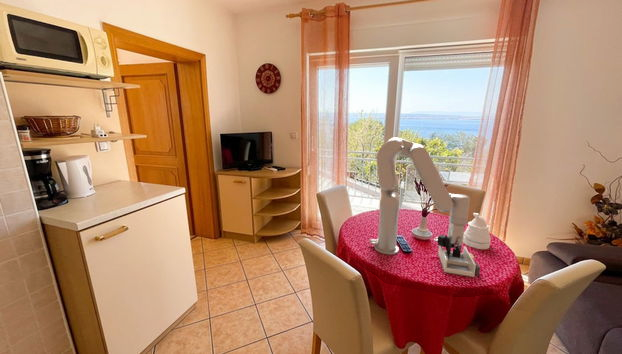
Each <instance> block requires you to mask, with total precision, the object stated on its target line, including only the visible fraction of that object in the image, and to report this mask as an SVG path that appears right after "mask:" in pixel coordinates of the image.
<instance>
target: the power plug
mask: <svg viewBox="0 0 622 354" xmlns="http://www.w3.org/2000/svg"><path fill="white" fill-rule="evenodd" d="M433 241H435V242H437V245H438V247H439V246H442V248H443V247H444V248H445V251H446V252H447V254H448V259H450V256H449V255H450V253H451V252H452V251H451V250H452V248H451V243H450V241H449V238H448V235H444V234H440V235H438V236H436V237H435V238H433Z"/></svg>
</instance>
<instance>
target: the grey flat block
mask: <svg viewBox="0 0 622 354" xmlns="http://www.w3.org/2000/svg"><path fill="white" fill-rule="evenodd" d="M474 262H475V264H476V268H475V274H474V276H478V277H479V276H480V272H481V267H480V264H478V262H476V261H474Z"/></svg>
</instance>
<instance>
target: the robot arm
mask: <svg viewBox="0 0 622 354" xmlns="http://www.w3.org/2000/svg"><path fill="white" fill-rule="evenodd" d="M397 156H401V157H404V158H407V159H409V160H410V162H411V164H412V165H413V168H414V169H415V171H416V173H417V175H418V177H419V179H420V181H421V183H422V184H423V186H424V188H425V189H426V190H427V193H428V194H429V196H430V198H431V200H432V202H433V204H434V205H435V207H436V209H437V210H438V211H440V212H441V213H449V218H448V222H449V225H448V229H447V230H448V231H447V237H448V238H449V241H450V243H451V249H452V252H453V254H452V256H453V257H458V258H460V254H461V252H462V245H463V244H464V243H463V237H464V232H465V226H467V225H468V219H469V210H470V203H471V197H470V196H468V195H467V194H461V193H456V194H455V193H450V192H449V191H448V189H447V187H446V185H445V184H444V182H443V180H442V178H441V174H440V173H439V170H438V169H437V166H436V165H435V163H434V162H433V160H432V159H433V158H432V157H431V155H430V154H429V152H428V150H427V148H425V146H423V145H422V144H419V143H416V142H412V141H409V140H407V139H403V138H400V137H396V136H395V137H391V138H389V140H386V142H384V143H383V144H382V145H381V146H380V148H379V149H378V152H377V154H376V165H377V166H376V167H377V175H378V179H377V180H378V185H379V188H380V192H381V196H380V197H381V198H380V200H379V215H378V216H379V217H378V219H379V220H378V234H377V235H378V236H377V239H376V238H375V239H374V238H369V243H371V245H374V249H375V251H377V252H378V253H380V254H383V255H390V256H391V255H396V254H398V253H399V251H400V249H399V248H400V247H398V245H397V239H398V238H397V237H398V226H399V213H400V206H401V205H400V204H401V202H400V189H399V188H400V187H399V180H398V175H397V173H396V169H395V168H396V167H395V166H396V165H395V158H396V157H397Z"/></svg>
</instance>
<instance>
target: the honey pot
mask: <svg viewBox="0 0 622 354" xmlns="http://www.w3.org/2000/svg"><path fill="white" fill-rule="evenodd" d="M473 216H474V218H472V220H470V221H467V225H468V226H466V229H465V230H464V237H463V243H462V244H465V245H466V246H467V247H470V248H473V249H479V250H487V249H489V248H490V246H491V238H492V237H491V234H490V231H489V229H490V225H488V224H487V221H486V220H485V219H484V217H483V216H482V215H481V216H480V214H479V213H478V212H473Z"/></svg>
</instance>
